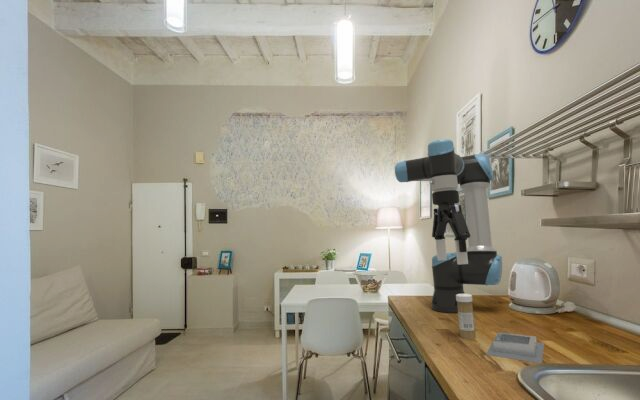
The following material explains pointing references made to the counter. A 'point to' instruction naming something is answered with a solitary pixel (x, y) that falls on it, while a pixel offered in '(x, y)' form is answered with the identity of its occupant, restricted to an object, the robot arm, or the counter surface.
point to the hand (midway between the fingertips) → (451, 262)
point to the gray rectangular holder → (535, 359)
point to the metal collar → (515, 344)
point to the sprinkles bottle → (466, 316)
